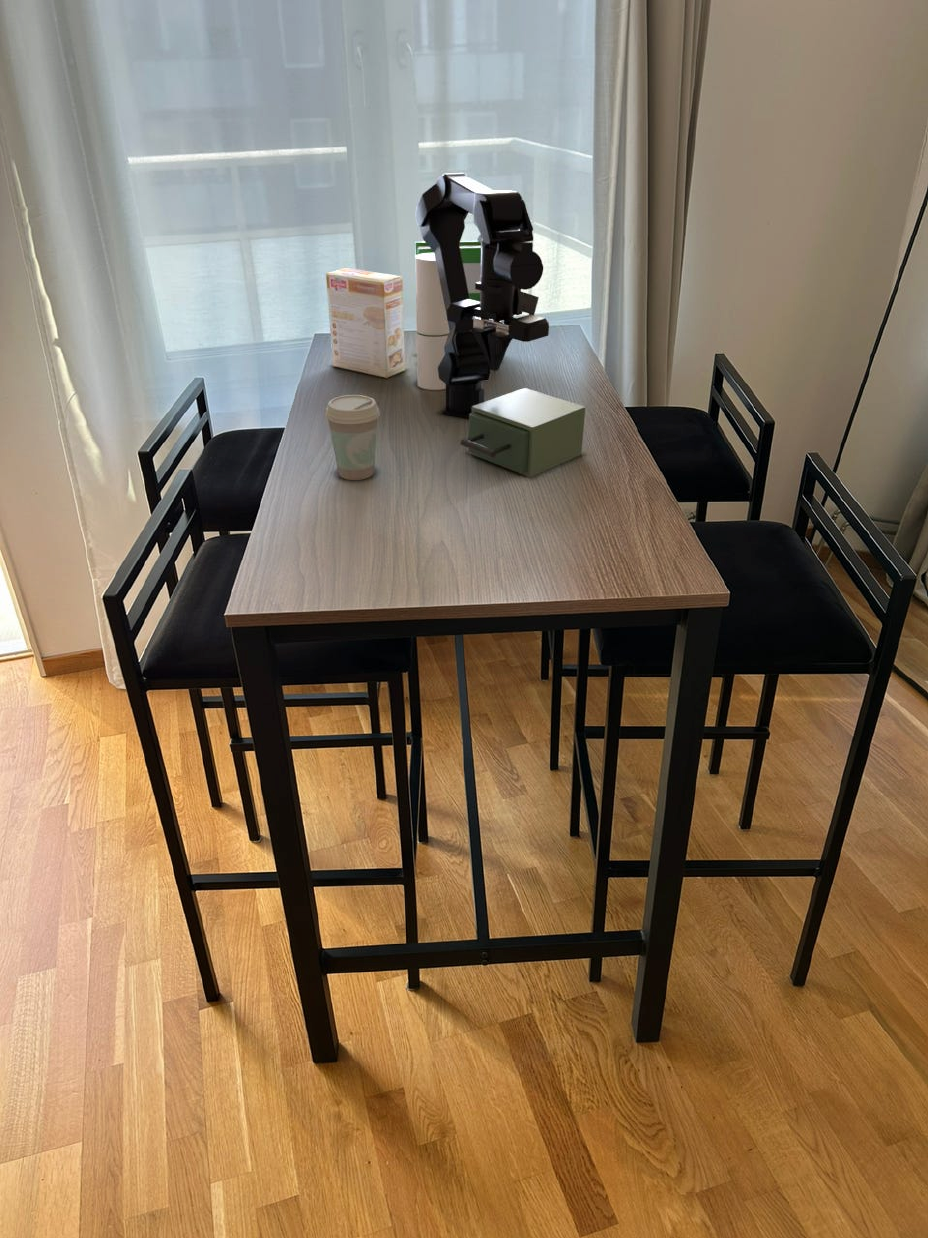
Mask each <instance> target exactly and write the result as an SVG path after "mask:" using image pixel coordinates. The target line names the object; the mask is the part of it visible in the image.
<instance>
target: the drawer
mask: <svg viewBox="0 0 928 1238" xmlns="http://www.w3.org/2000/svg"><path fill="white" fill-rule="evenodd" d="M529 436H530V432H529V431H528V430H525V429H522V428H520V427H517V426H514V425H511V424H508V423H505V422H502V421H500V420H497V419H494V418H491V417H488V416H485V415H483V414H482V415H480V414H477V413H471V414H469V418H468V438H467V439H466V438H461V439H460V443H459V444H460V445H461V446H462V447H464V448H467V449H468V453H469V454H471V453H472V454H475V455H477V456H480V457H482V458H485V459H487V460H490V461H492V462H495V463H498V464H500V465H503V466H505V467H508V468H510V469H513V470H516V471H518V472H521V473H525V472H527V471H528V455H529ZM472 454H471V455H472ZM477 456H476V457H477ZM482 458H481V459H482ZM487 460H486V461H487ZM490 461H489V462H490ZM492 462H491V463H492ZM495 463H494V464H495ZM500 465H499V466H500ZM505 467H504V468H505ZM510 469H509V470H510ZM513 470H512V471H513ZM518 472H517V473H518Z"/></svg>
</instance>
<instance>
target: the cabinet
mask: <svg viewBox="0 0 928 1238" xmlns="http://www.w3.org/2000/svg"><path fill="white" fill-rule="evenodd" d="M472 413H477V414H480V415H482V414H483V415H485V416H488V417H491V418H494V419H497V420H500V421H502V422H505V423H508V424H511V425H514V426H517V427H520V428H522V429H525V430H528V431H529V432H530V436H529V455H528V471H527V472H525V473H521V472H518V471H516V470H513V469H510V468H508V467H505V466H503V465H500V464H498V463H495V462H492V461H490V460H487V459H485V458H482V457H480V456H477V455H475V454H472V453H470V455H472V456H474V457H477V458H480V459H482V460H485V461H487V462H489V463H493V464H495V465H498V466H500V467H503V468H505V469H508V470H510V471H513V472H515V473H518V474H520V475H523V476H526V477H528V478H532V477H534V476H537V475H539V474H541V473H544V472H546V471H548V470H550V469H553V468H555V467H557V466H560V465H562V464H563V463H566V462H568V461H571V460H573V459H575V458H577V457H580V456H582V453H583V441H584V428H585V418H586V406H584V405H581V404H577V403H575V402H571V401H568V400H565V399H562V398H559V397H556V396H552V395H548V394H545V393H542V392H540V391H536V390H533V389H530V388H527V387H522V388H521V389H517V390H514V391H512V392H509V393H505V394H503V395H499V396H497V397H495V398H492V399H491V398H490V399H489V400H486V401H484V402H483V403H480V404H477V405H474V406H472Z"/></svg>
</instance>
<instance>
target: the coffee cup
mask: <svg viewBox="0 0 928 1238" xmlns="http://www.w3.org/2000/svg"><path fill="white" fill-rule="evenodd" d="M380 415H381V413H380V409H379V407H378V405H377V402H376V399H374V398H373V397H371V396H367V395H361V394H345V395H340V396H336V397H334V398H332V399H330V400H329V401H328V403H327V407H326V410H325V418H326V419H327V422H328V427H329V431H330V437H331V442H332V448H333V452H334V458H335V463H336V468H337V473H338V475H339V477H341V478H342V479H344V480H347V481H361V480H366V479H369V478H371V477H372V476H373V475H374V474H375V460H376V448H377V435H378V434H377V433H378V419H379V416H380Z"/></svg>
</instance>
